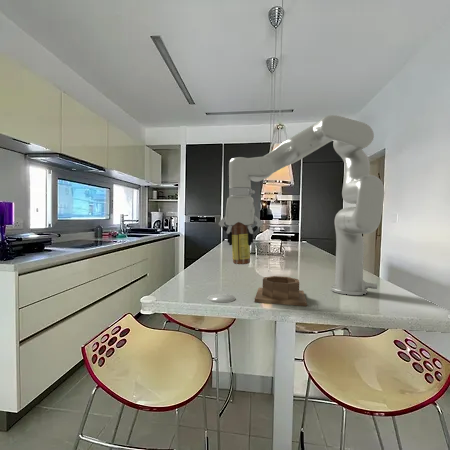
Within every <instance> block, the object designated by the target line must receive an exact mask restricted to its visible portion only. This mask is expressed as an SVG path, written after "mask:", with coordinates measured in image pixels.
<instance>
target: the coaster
mask: <svg viewBox="0 0 450 450" xmlns="http://www.w3.org/2000/svg"><path fill="white" fill-rule="evenodd" d="M207 300H208V301H210V302H212V303H220V304H221V303H222V304H223V303H231V302H234V301H235V300H236V298H235V296H234V295H233V294H229V293H215V294H214V293H213V294H210V295H208V296H207Z"/></svg>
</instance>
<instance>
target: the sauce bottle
mask: <svg viewBox="0 0 450 450" xmlns="http://www.w3.org/2000/svg"><path fill="white" fill-rule="evenodd" d="M231 232H232V245H231V252H232V262H233V264H234V265H248V264H250V263H251V248H250V246H251V245H248V234H249V229H248V227H247V226H245V225H244V224H243V223H241V222H237V223H236V224H234V225H233V226H232V231H231Z"/></svg>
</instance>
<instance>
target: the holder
mask: <svg viewBox="0 0 450 450" xmlns="http://www.w3.org/2000/svg"><path fill="white" fill-rule="evenodd" d="M305 295H306V294H305V291H304V290H300V280H299V279H298V278H294V277H290V276H277V275H273V276H271V275H270V276H264V277H263V278H262V287H258V288H257V291H256V294H255V296H254V303H261V304H263V303H264V304H274V305H287V306H288V305H289V306H298V307H299V306H301V307H307V306H308V303H307V299H306V296H305Z"/></svg>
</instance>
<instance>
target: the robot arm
mask: <svg viewBox="0 0 450 450" xmlns="http://www.w3.org/2000/svg"><path fill="white" fill-rule="evenodd" d="M374 135H375V134H374V131H373V129H372V127H371V126H370V125H369V124H367V123H365V122H362V121H360V120H359V121H358V120H355V119H352V118H349V117H344V116H340V115H334V114H329V115H326V116H324V117H322V118H321V119H320V120H318V121H316V122H315V123H313V124H312V125H310V126H309V127H307V128H305V129H303V130H302V131H300V132H298V133H297V134H295V135H293V136H291V137H290V138H289V137H288V139H286V140H284V141H283V142H282V143H280V144H279V145H278V146H277V147H276V148H274V149H273V150H271V151H270V152H268V153H267V154H265V155H263V156H255V157H243V156H238V157H232V158H231V159H230V160H229V161H228V162H229V163H228V176H229V177H228V181H229V182H228V185H229V187H228V189H229V190H228V191H229V193H228V194H229V196H228V197H227V199H226V205H225V206H226V207H225V216H223V218H222V219H220V221H219V222H218V226H219V227H220V228H222V230H223V231H224V232H225V233H226V235H227V243H228V245H229V246H232V226H233V225H234V224H236V223H237V222H241V223H243V224H244V225H245V226H247V227H248V229H249V234H248V245H250V246H252V244H253V243H254V233H256V231H257V230H258V229H259V228H260V227H261V226H262V225H263V221H262V220H261V219H259V218H258V217H257V215H256V211H255V209H256V207H255V202H254V198H253V197H252V195H253V194H254V195H256V194H255V193H256V190H255V189H252V185H251V184H252V182H255V183H257V182H261V181H263V180H265V179H268V178H269V177H270V176H272V175H273V174H274V173H276V172H277V171H280V170H281V169H283V168H285V167H287V166H290V165H293V164H294V163H296V162H298V161H300V160H302V159H304V158H305V157H307V156H309V155H311V154H312V153H313V152H316V151H317V150H319V149H320V148H322V147H324V146H325V145H327V144H329V143H331V142H333V143H332V144H333V146H332V147H333V149H334V151H335V152H336V154H337V155H338V156H339V157H340V158H341V160H342V161H343V163H344V177H343V183H342V191H341V196H342V199H343V202H346V203H347V204H352V205H355V206H350V207H344V208H341V209H340V210H338V212H337V213H336V214H335V217H334V229H335V241H336V245H335V246H336V247H335V275H334V278H335V280H334V284H333V285H331V286H330V291H332V292H335V293H337V294H342V295H346V294H347V295H348V296H364V295H363V294H365V295H367V294H368V289H371V290H372V289H374V290H375V289H376V290H377V289H378V284H377V283H372V282H368V281H365V280H364V255H365V254H364V253H365V244H364V243H365V242H364V238H363V235H365V234H367V235H368V234H371V233H374V232H376V230H377V229H378V228H379V226H380V223H381V221H382V213H383V207H384V206H383V205H384V200H385V199H384V198H385V186H384V183H383V181H382V180H381V178H379V177H378V176H376V175H374V174H370V172H371V171H370V169H371V163H370V159H369V157H368V156H367V153H366V152H364V150H363V149H365V148H368V147H369V146H370V145H371V144H372V143H373V140H374V137H375V136H374ZM251 181H252V182H251ZM255 223H256V225H255ZM226 225H227V226H226ZM254 225H255V226H254ZM366 293H367V294H366Z"/></svg>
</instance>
